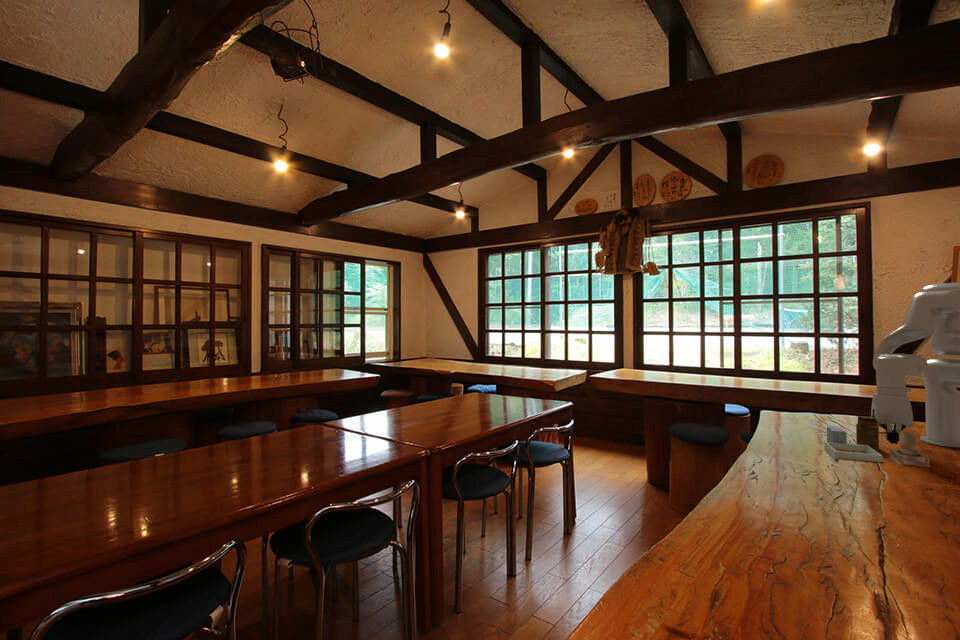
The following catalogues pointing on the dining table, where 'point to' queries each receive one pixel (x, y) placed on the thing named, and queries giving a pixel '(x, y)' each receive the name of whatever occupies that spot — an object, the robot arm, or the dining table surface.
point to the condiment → (867, 432)
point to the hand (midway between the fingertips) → (893, 442)
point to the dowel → (908, 444)
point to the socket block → (909, 459)
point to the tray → (831, 447)
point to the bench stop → (836, 435)
